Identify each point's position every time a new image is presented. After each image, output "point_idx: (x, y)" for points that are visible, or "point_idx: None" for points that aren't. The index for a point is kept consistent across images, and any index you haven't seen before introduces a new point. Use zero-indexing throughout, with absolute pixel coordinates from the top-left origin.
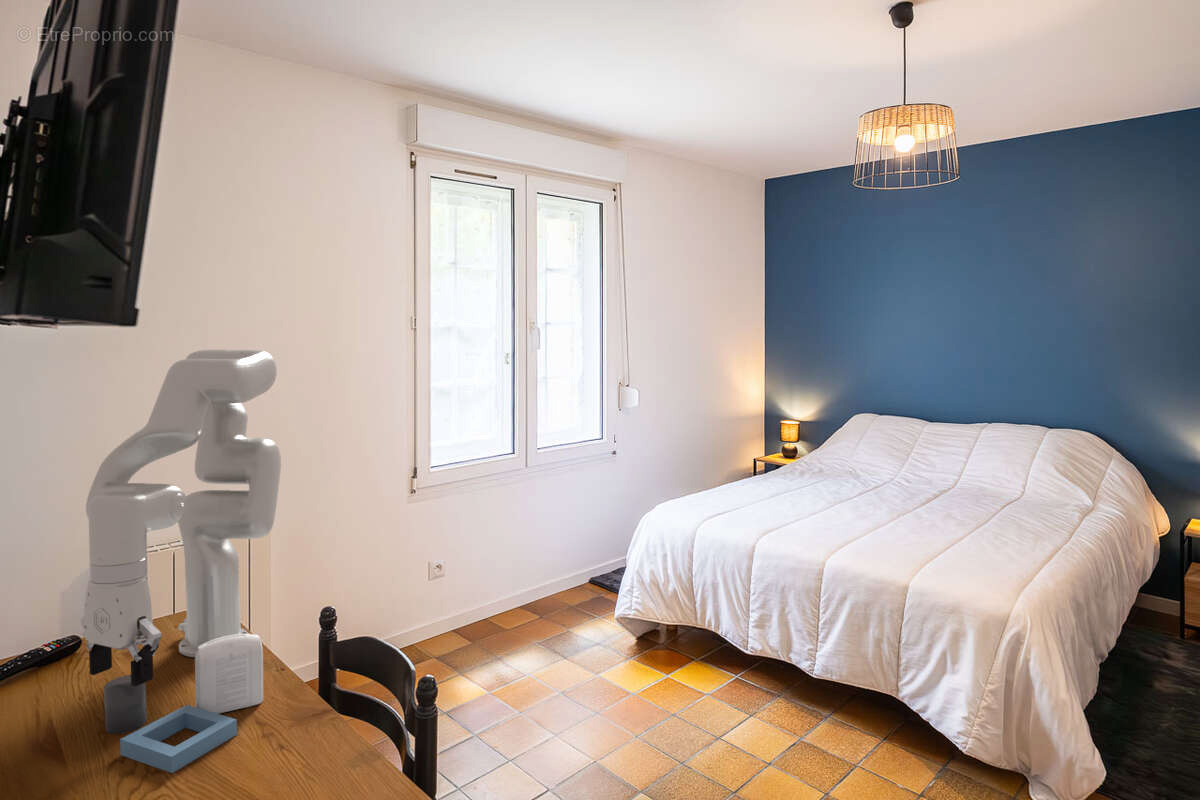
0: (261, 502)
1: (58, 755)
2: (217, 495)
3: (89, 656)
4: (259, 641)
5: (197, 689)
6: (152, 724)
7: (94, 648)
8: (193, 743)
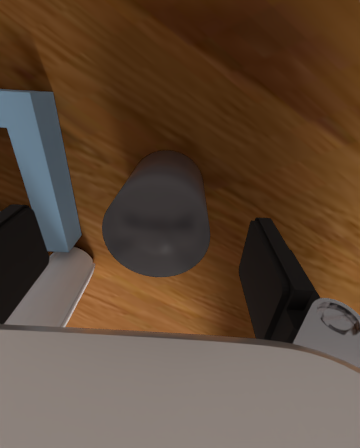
0: None
1: (185, 23)
2: None
3: (297, 266)
4: None
5: (45, 283)
6: (41, 174)
7: (303, 313)
8: None
